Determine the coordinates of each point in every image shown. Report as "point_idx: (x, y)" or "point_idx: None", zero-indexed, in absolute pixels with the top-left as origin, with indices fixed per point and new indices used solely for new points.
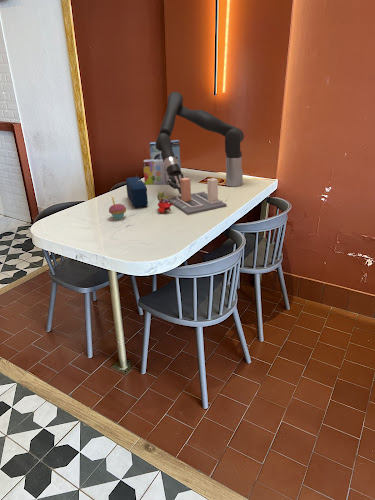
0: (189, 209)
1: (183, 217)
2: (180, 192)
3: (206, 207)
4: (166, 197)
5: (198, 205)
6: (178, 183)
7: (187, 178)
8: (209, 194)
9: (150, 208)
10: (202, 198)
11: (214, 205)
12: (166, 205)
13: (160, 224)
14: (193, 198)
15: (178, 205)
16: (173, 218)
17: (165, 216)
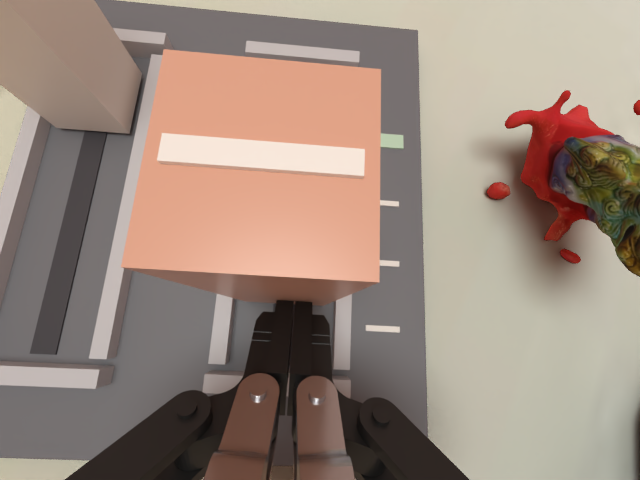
0: None
1: (457, 29)
2: (327, 321)
3: (240, 31)
4: (613, 157)
5: (294, 46)
6: (313, 456)
7: (192, 136)
8: (91, 45)
9: (623, 339)
10: (135, 190)
11: (160, 27)
12: (585, 122)
13: (627, 23)
14: (184, 287)
15: (409, 200)
16: (523, 52)
17: (560, 112)
